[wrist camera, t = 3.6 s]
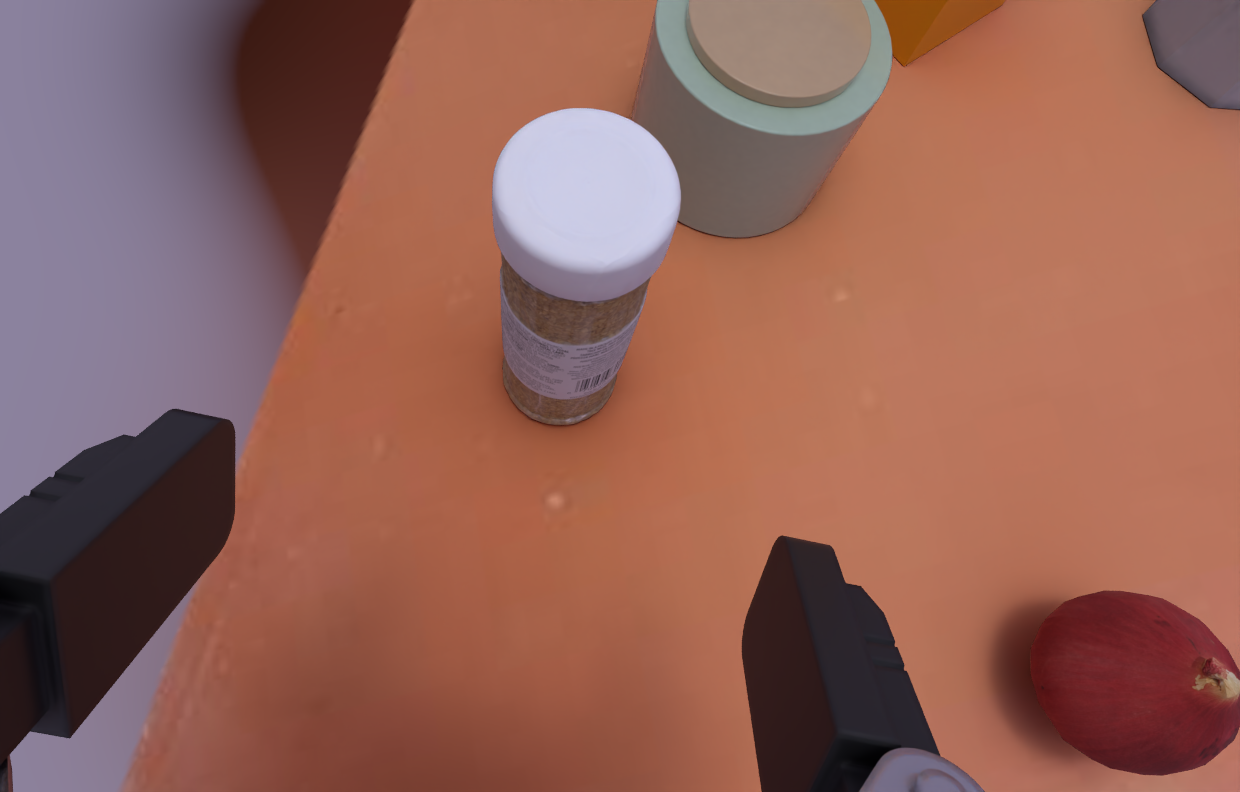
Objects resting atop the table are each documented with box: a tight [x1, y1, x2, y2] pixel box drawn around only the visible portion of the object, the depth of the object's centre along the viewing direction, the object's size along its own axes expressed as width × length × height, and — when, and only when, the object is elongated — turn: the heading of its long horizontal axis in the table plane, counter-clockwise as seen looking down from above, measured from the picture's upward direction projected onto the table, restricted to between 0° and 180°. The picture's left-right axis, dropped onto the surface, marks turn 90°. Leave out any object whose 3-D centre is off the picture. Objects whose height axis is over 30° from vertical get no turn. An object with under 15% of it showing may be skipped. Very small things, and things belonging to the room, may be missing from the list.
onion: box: [1031, 591, 1240, 775], centre depth 26 cm, size 6×6×8 cm
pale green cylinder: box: [631, 0, 892, 238], centre depth 32 cm, size 9×9×8 cm
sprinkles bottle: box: [492, 108, 681, 425], centre depth 25 cm, size 5×4×13 cm
